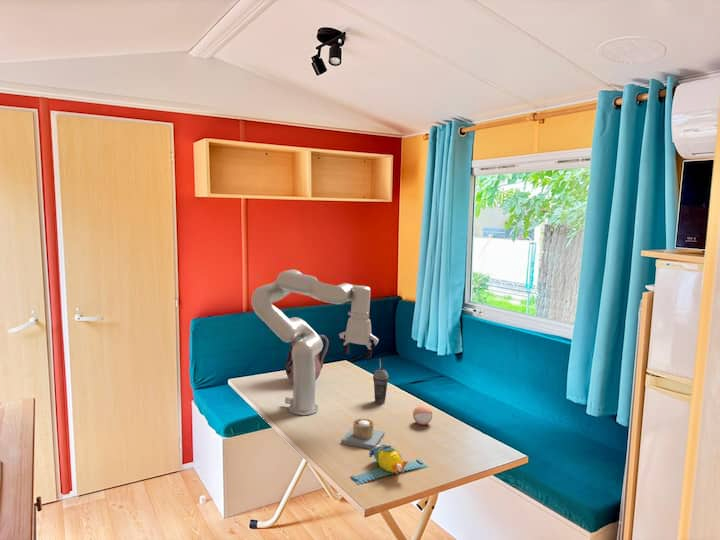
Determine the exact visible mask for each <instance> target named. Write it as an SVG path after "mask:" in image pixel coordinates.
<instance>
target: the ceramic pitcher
mask: <svg viewBox="0 0 720 540" xmlns="http://www.w3.org/2000/svg"><path fill="white" fill-rule="evenodd" d="M318 335H319V337H320V338H321V339H324V341H325V347H324V350H323V351H322V353H321V354H320V353H318V354H317V355H316V356H315V357H314V362H315V370H316V372H315V382H316V381H317V379H318V378H319V377H320V375H321V371H322V369H323V366H324V359H325V356H326V355H327V352H328V349H329V346H330V345H329V344H330V343H329V338H328V337H327V336H326V335H324V334H318ZM296 342H297V341H296V340H294V341H292V342H290V346H289V347H290V348H289V350H288V351H289V352H288V354H287V358H286V363H285V373H286V376H287V379H289V381H290V382H291V383H293V358H292V348H293V346H294V344H295V343H296Z"/></svg>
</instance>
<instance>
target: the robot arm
mask: <svg viewBox="0 0 720 540" xmlns="http://www.w3.org/2000/svg"><path fill="white" fill-rule="evenodd" d="M371 290H372V289H371V288H370V287H369V286H366V285H356V284H351V283H348V282H343V283H340V284H338V285H336V284H335V285H334V284H330V283H324V282H321V281H320V280H318V279H317V277H316V276H313V275H308V274H304V273H302V272H301V271H299V270H298V269H288V270H284V271H281V272H279V274H278V276H277V278H276V280H274V281H273V282H271V283H268V284H264V285H261V286H259V287H257V288H255V290H254V291H253V292H252V295H251V301H250V302H251V306H252V307H251V308H252V309H253V312H254V313H255V314H256V316H258V318H259V319H260V320H261V321H262V322H264V323H265V325H267V327H269V329H270V330H271V331H272V332H273V333H274V334H275V335H276V336H277V337H278V338H279V339H280V340H281V341H282V342H284V343H291V342H292V341H294V340H296V341H297V342H296V343H295V344H294V346H293V348H292V358H293V382H292V397H285V399H284V401H285V402H284V404H289V405H290V406H288V411H289V412H290V413H291V414H292V415H297V416H309V415H313V414H316V413H317V412H318V411H319V406H318V404H317V403H316V381H315V372H316V370H315V362H314V357H315V356H316V355H317V354H318V353H319V354H320V353H321V352H322V350H323V347H324V343H323V340H322V338H320V337H319V335H320V334H318V333H317V332H316V331H315V330H314V329H313V328H312V327H311V326H310V325H309V324H308V323H307V321H305V320H304V319H302V318H300V317H295V316H293V317H290V318H289V317H288V316H287V315H286V314H285V313H284V312H283V311H282V310H281V309H279V308H278V307H277V306H275V305H274V304H275V303H276V302H279V301H281V300H283V299H284V298H285V297H287V296H289V295H290V294H291V293H294V294H299V295H304V296H308V297H311V298H313V299H315V300H318V301H320V302H324V303H329V304H334V305H341V304H345V303H346V302H350V301H351V307H350V311H347V315H348V316H349V318H348V320H347V325H346V329H345V331H343V332H340V333H339V334H338V336H339V339H340V341H341V342H342V344H343V346H344V347H343V352H344V355H345V356H347V355H349V354H350V343H351V344H356V345H362V346H366V347H367V349H366V357H365V358H366V360H369V359H370V358H371V357H372V355H373V354H372V353H373V352H372V351H373V349H374V348H375V347H376V346H377V344H378V343H379V340H380V339H379V338H378V337H377V336H375V335H373V334H372V322H371V319H370V307H371V306H370V305H371ZM344 336H345V337H344ZM372 341H373V343H372Z"/></svg>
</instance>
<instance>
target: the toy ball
mask: <svg viewBox="0 0 720 540" xmlns="http://www.w3.org/2000/svg"><path fill="white" fill-rule="evenodd" d="M412 417H413V420H414V421H415V422H416V423H417V424H418V425H422V426H423V425H424V426H425V425H428V424H429V423H430V422H431V421H432V419H433V412H432V409H431V408H430V407H429V406H427V404H426V405H425V404H420V405H417V406H416V407H415V408H414V409H413V412H412Z"/></svg>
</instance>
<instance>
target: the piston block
mask: <svg viewBox="0 0 720 540" xmlns="http://www.w3.org/2000/svg"><path fill="white" fill-rule="evenodd" d="M358 425H359V426H368V425H370V422H368V421H365V420H362V421H359V422H358ZM383 436H385V431H384V430H379V429H373V437H372V438H370V439H367V440H361V439H357V438H355V437H354V436H353V426H352V427H350V429H349V430H348V431H347V433H345V435H344V436H343V437H342V438H341V444H343V445H347V446H348V445H349V446H353V447H358V446H359V448H365V449H370V450H371V449H373V448H374V447H375V445H376V444H379V443H380V442H381V441H382V440H381V439H383V438H384V437H383Z"/></svg>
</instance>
